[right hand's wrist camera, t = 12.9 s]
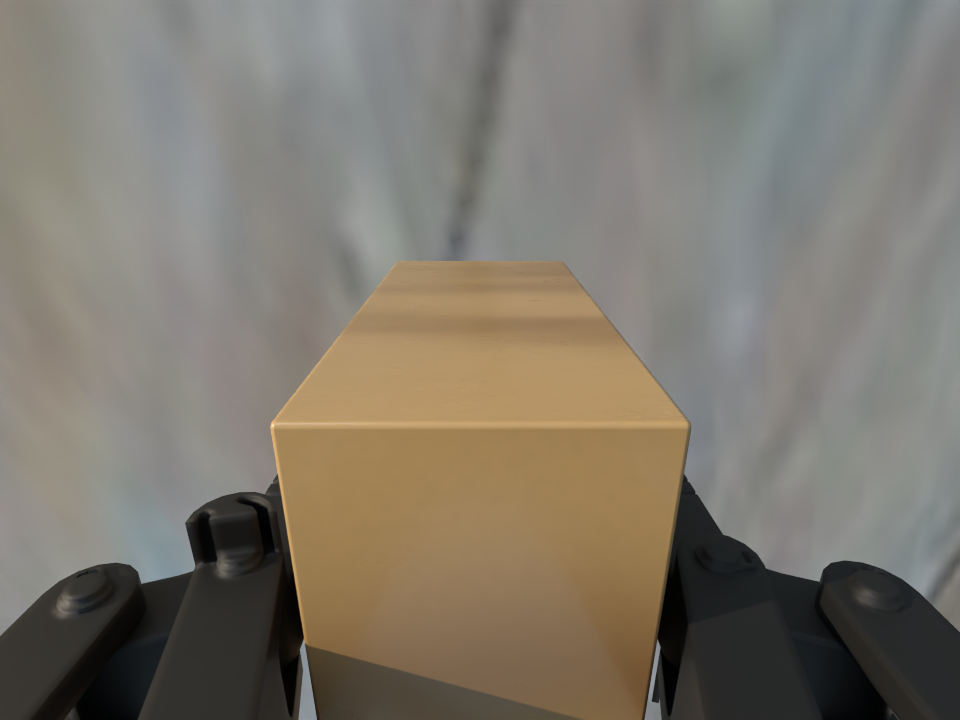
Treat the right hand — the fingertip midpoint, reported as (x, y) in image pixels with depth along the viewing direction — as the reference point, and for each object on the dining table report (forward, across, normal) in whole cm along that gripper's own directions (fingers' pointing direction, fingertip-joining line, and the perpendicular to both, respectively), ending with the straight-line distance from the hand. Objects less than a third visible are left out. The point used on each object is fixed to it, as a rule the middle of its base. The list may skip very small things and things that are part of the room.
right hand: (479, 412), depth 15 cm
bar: (+1, 0, -7) cm, 7 cm away
